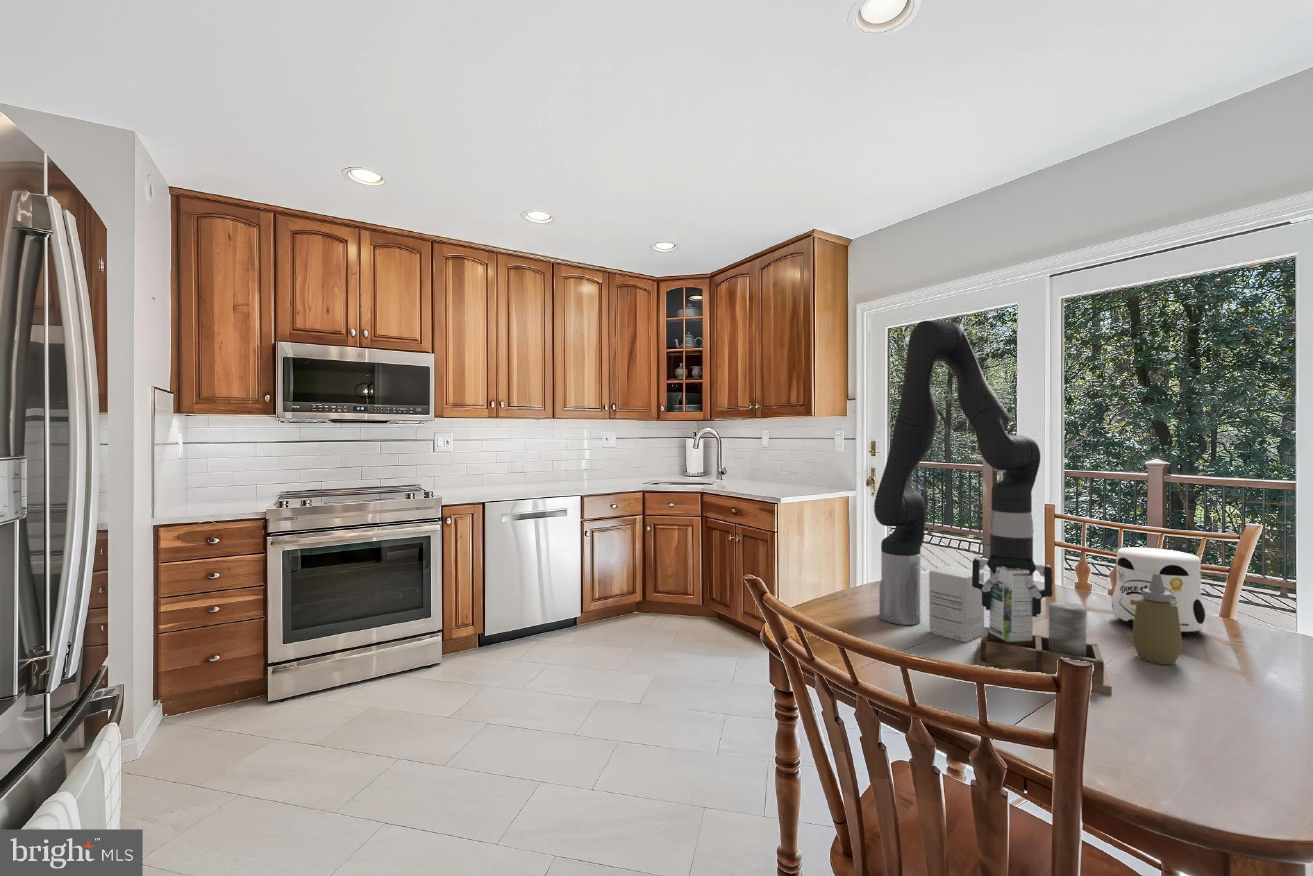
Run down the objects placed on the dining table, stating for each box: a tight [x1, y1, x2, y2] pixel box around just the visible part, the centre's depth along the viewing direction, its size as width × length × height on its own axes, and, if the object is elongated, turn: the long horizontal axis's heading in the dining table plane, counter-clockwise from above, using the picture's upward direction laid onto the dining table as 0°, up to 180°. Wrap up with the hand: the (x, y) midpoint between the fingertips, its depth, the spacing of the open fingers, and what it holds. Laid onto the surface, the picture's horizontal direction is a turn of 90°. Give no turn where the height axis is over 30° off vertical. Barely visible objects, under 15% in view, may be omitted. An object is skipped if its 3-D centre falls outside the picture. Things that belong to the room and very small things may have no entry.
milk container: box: [1111, 546, 1207, 635], centre depth 141 cm, size 17×17×18 cm
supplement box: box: [928, 565, 985, 643], centre depth 138 cm, size 9×9×15 cm
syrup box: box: [988, 567, 1034, 642], centre depth 119 cm, size 6×6×14 cm
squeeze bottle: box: [1131, 573, 1184, 665], centre depth 121 cm, size 8×8×18 cm
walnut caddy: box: [973, 602, 1113, 696], centre depth 117 cm, size 22×12×14 cm, turn 58°
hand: (1010, 612), depth 119 cm, fingers closed on syrup box, 7 cm apart
